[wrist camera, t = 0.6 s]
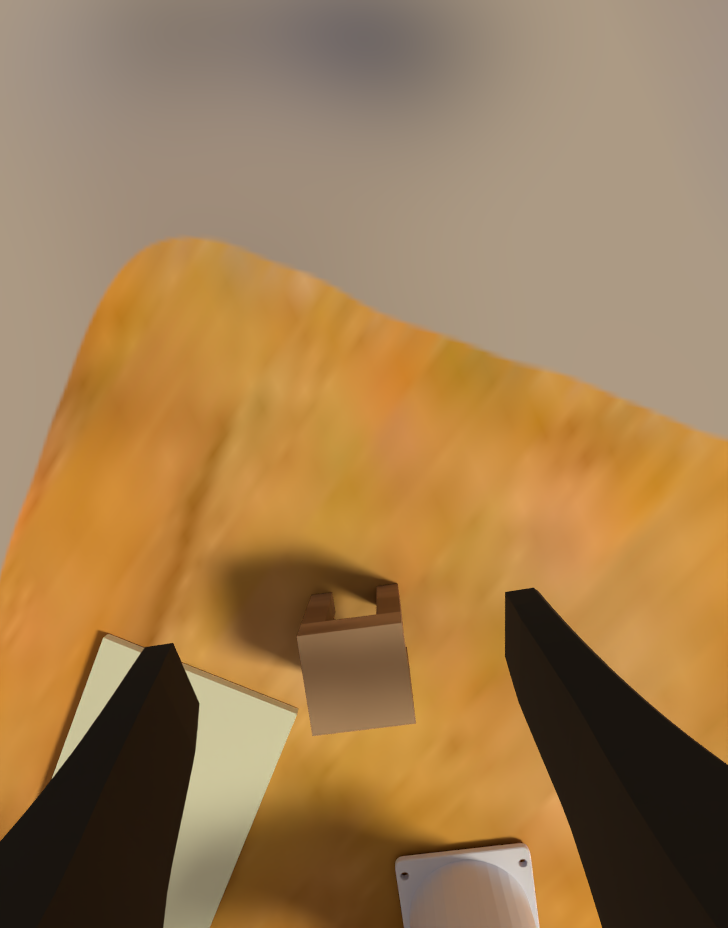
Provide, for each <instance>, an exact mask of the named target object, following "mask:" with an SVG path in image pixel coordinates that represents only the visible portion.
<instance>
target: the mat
mask: <svg viewBox="0 0 728 928" xmlns="http://www.w3.org/2000/svg"><path fill="white" fill-rule="evenodd" d="M143 649H144V648H143V647H141V646H138V645H136V644H133V643H131V642H128V641H126V640H123V639H121V638H118V637H116V636H113V635H111V634H107V635H106V636H105V637H103V640H102V643H101V645H100V648H99V651H98V654H97V656H96V659H95V662H94V664H93V667H92V670H91V673H90V675H89V678H88V681H87V684H86V686H85V689H84V692H83V695H82V697H81V700H80V703H79V706H78V708H77V711H76V714H75V717H74V719H73V722H72V725H71V728H70V730H69V733H68V736H67V738H66V741H65V744H64V747H63V749H62V752H61V755H60V758H59V760H58V763H57V766H56V769H55V771H54V774H53V777H54V776H55V774H56V773H57V772H58V770H59V769H60V768H61V766H62V765H63V764H64V762H65V761H66V760H67V759H68V757H69V756H70V755H71V753H72V752H73V751H74V749H75V748H76V746H77V745H78V744H79V742H80V741H81V740H82V738H83V737H84V735H85V734H86V732H87V731H88V730H89V728H90V727H91V725H92V724H93V722H94V721H95V720H96V718H97V717H98V715H99V714H100V713H101V711H102V710H103V708H104V707H105V705H106V704H107V702H108V701H109V699H110V698H111V696H112V695H113V693H114V692H115V691H116V689H117V688H118V686H119V685H120V683H121V682H122V680H123V679H124V677H125V676H126V674H127V673H128V671H129V670H130V668H131V667H132V665H133V664H134V662H135V661H136V659H137V658H138V656H139V655H140V653H141V652H142V651H143ZM182 665H183V667H184V669H185V671H186V674H187V676H188V678H189V680H190V683H191V685H192V687H193V690H194V692H195V694H196V696H197V699H198V701H199V703H200V704H199V717H198V731H197V741H196V751H195V757H194V762H193V767H192V772H191V777H190V782H189V787H188V792H187V797H186V801H185V806H184V811H183V816H182V820H181V825H180V830H179V835H178V840H177V844H176V849H175V854H174V859H173V864H172V869H171V875H170V881H169V886H168V892H167V901H166V909H165V918H164V926H163V928H210V925H211V923H212V921H213V918H214V916H215V913H216V911H217V908H218V906H219V903H220V901H221V899H222V896H223V894H224V891H225V889H226V886H227V884H228V882H229V879H230V877H231V874H232V872H233V869H234V867H235V864H236V862H237V860H238V857H239V855H240V852H241V850H242V847H243V845H244V842H245V840H246V838H247V835H248V833H249V830H250V828H251V825H252V823H253V820H254V818H255V816H256V813H257V811H258V808H259V806H260V803H261V801H262V798H263V796H264V794H265V791H266V789H267V786H268V784H269V781H270V779H271V777H272V774H273V772H274V769H275V767H276V764H277V762H278V759H279V757H280V755H281V752H282V750H283V747H284V745H285V742H286V740H287V737H288V735H289V733H290V730H291V728H292V725H293V723H294V720H295V718H296V715H297V712H298V708H295V707H293V706H290V705H288V704H285V703H283V702H280V701H278V700H275V699H273V698H270V697H267V696H265V695H262V694H260V693H257V692H255V691H252V690H250V689H247V688H245V687H242V686H240V685H237V684H235V683H232V682H230V681H227V680H224V679H222V678H219V677H217V676H214V675H212V674H209V673H207V672H204V671H202V670H199V669H197V668H194V667H192V666H189V665H187V664H184V663H182ZM53 777H52V778H53Z"/></svg>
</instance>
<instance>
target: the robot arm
mask: <svg viewBox="0 0 728 928" xmlns="http://www.w3.org/2000/svg"><path fill="white" fill-rule="evenodd" d="M505 658H506V661H507V665H508V668H509V671H510V675H511V678H512V682H513V685H514V688H515V692H516V695H517V698H518V701H519V704H520V706H521V709H522V711H523V714H524V716H525V719H526V721H527V723H528V726H529V728H530V731H531V733H532V735H533V738H534V740H535V743H536V745H537V747H538V750H539V752H540V754H541V757H542V759H543V762H544V764H545V766H546V769H547V771H548V773H549V776H550V778H551V781H552V783H553V785H554V788H555V790H556V792H557V795H558V797H559V799H560V802H561V804H562V807H563V809H564V812H565V815H566V817H567V820H568V823H569V825H570V828H571V831H572V834H573V837H574V840H575V843H576V846H577V849H578V852H579V855H580V858H581V861H582V864H583V868H584V871H585V874H586V877H587V880H588V883H589V886H590V889H591V893H592V896H593V899H594V902H595V906H596V909H597V912H598V915H599V918H600V922H601V925H602V928H728V765H727V764H726V763H724V762H723V761H722V760H720V759H719V758H718V757H716V756H715V755H714V754H712V753H711V752H710V751H708V750H707V749H706V748H704V747H703V746H702V745H700V744H699V743H698V742H696V741H695V740H694V739H692V738H691V737H690V736H688V735H687V734H686V733H685V732H683V731H682V730H681V729H680V728H678V727H677V726H676V725H675V724H673V723H672V722H671V721H670V720H668V719H667V718H666V717H665V716H664V715H662V714H661V713H660V712H659V711H658V710H656V709H655V708H654V707H653V706H652V705H651V704H649V703H648V702H647V701H646V700H645V699H644V698H643V697H641V696H640V695H639V694H638V693H637V692H636V691H635V690H634V689H632V688H631V687H630V686H629V685H628V684H627V683H626V682H625V681H624V680H623V679H621V678H620V677H619V676H618V675H617V674H616V673H615V672H614V671H613V670H612V669H611V668H610V667H609V666H608V665H607V664H606V663H605V662H604V661H603V660H602V659H601V658H600V657H599V656H598V655H597V654H596V653H595V652H594V651H593V650H592V649H591V648H590V647H589V646H588V645H587V644H586V643H585V642H584V641H583V640H582V639H581V638H580V637H579V636H578V635H577V634H576V633H575V632H574V631H573V630H572V629H571V628H570V627H569V625H568V624H567V623H566V622H565V621H564V620H563V619H562V618H561V617H560V616H559V615H558V613H557V612H556V611H555V610H554V609H553V608H552V607H551V605H550V604H549V603H548V602H547V601H546V600H545V599H544V597H543V596H542V595H541V594H540V593H539V591H537V590H536V589H534V588H529V589H522V590H516V591H509V592H505ZM199 704H200V703H199V701H198V699H197V696H196V694H195V692H194V690H193V687H192V685H191V683H190V680H189V678H188V676H187V674H186V671H185V669H184V667H183V665H182V662H181V660H180V658H179V655H178V653H177V651H176V649H175V646H174V644H173V643H170V644H163V645H157V646H150V647H145V648H144V649H143V651H142V652H141V653H140V655H139V656H138V658H137V659H136V661H135V662H134V664H133V665H132V667H131V668H130V670H129V671H128V673H127V674H126V676H125V677H124V679H123V680H122V682H121V683H120V685H119V686H118V688H117V689H116V691H115V692H114V693H113V695H112V696H111V698H110V699H109V701H108V702H107V704H106V705H105V707H104V708H103V710H102V711H101V713H100V714H99V715H98V717H97V718H96V720H95V721H94V722H93V724H92V725H91V727H90V728H89V730H88V731H87V732H86V734H85V735H84V737H83V738H82V740H81V741H80V742H79V744H78V745H77V746H76V748H75V749H74V751H73V752H72V753H71V755H70V756H69V757H68V759H67V760H66V761H65V762H64V764H63V765H62V766H61V768H60V769H59V770H58V772H57V773H56V774H55V776H54V777H53V778H52V779H51V781H50V782H49V783H48V785H47V786H46V787H45V789H44V790H43V791H42V792H41V794H40V795H39V796H38V797H37V799H36V800H35V801H34V802H33V803H32V805H31V806H30V807H29V808H28V810H27V811H26V812H25V813H24V814H23V816H22V817H21V818H20V819H19V820H18V822H17V823H16V824H15V825H14V826H13V827H12V828H11V830H10V831H9V832H8V833H7V834H6V835H5V837H4V838H3V839H2V840H1V841H0V928H163V926H164V918H165V909H166V901H167V892H168V886H169V881H170V875H171V869H172V864H173V859H174V854H175V849H176V844H177V840H178V835H179V830H180V825H181V820H182V816H183V811H184V806H185V801H186V797H187V792H188V787H189V782H190V777H191V772H192V767H193V762H194V757H195V751H196V741H197V731H198V717H199ZM521 859H525V861H524V862H519V861H520V860H521ZM395 871H396V877H397V884H398V891H399V898H400V904H401V911H402V918H403V924H404V928H539V920H538V912H537V904H536V896H535V888H534V879H533V871H532V863H531V855H530V851H529V849H528V847H527V845H525V844H523V843H516V844H507V845H498V846H489V847H480V848H471V849H462V850H453V851H444V852H435V853H427V854H418V855H409V856H401V857H399V858H398V859H397V860H396V861H395ZM403 872H406V873H408V874H407V875H402V873H403Z"/></svg>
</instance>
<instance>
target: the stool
mask: <svg viewBox="0 0 728 928" xmlns="http://www.w3.org/2000/svg"><path fill="white" fill-rule="evenodd" d="M334 615H335V608H334V602H333V595H332V592H330V593H322V594H315V595H311V598H310V601H309V603H308V606H307V609H306V612H305V614H304V617H303V620H302V623H301V625H300V628H299V631H298V634H297V642H298V649H299V655H300V661H301V667H302V674H303V680H304V686H305V692H306V698H307V705H308V711H309V717H310V723H311V730H312V736H317V735H325V734H333V733H342V732H350V731H358V730H366V729H375V728H383V727H391V726H399V725H407V724H416V720H415V711H414V703H413V694H412V686H411V677H410V668H409V661H408V654H407V647H405V640H404V632H403V623H402V614H401V605H400V597H399V590H398V584H391V585H383V586H377V610H376V615H370V616H362V617H354V618H346V619H339V620H334Z"/></svg>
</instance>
